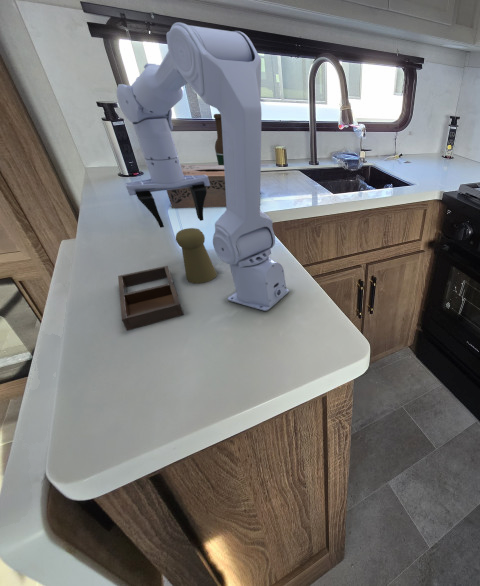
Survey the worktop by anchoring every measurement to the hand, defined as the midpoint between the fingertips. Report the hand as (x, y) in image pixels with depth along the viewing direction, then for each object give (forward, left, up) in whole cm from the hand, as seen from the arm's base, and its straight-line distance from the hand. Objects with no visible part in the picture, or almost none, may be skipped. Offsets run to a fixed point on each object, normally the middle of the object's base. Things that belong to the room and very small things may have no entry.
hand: (181, 222), depth 73 cm
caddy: (-4, +14, -10) cm, 18 cm away
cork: (-6, +4, -11) cm, 13 cm away
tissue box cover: (+28, -38, -11) cm, 48 cm away
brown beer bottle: (+39, -58, -10) cm, 71 cm away
